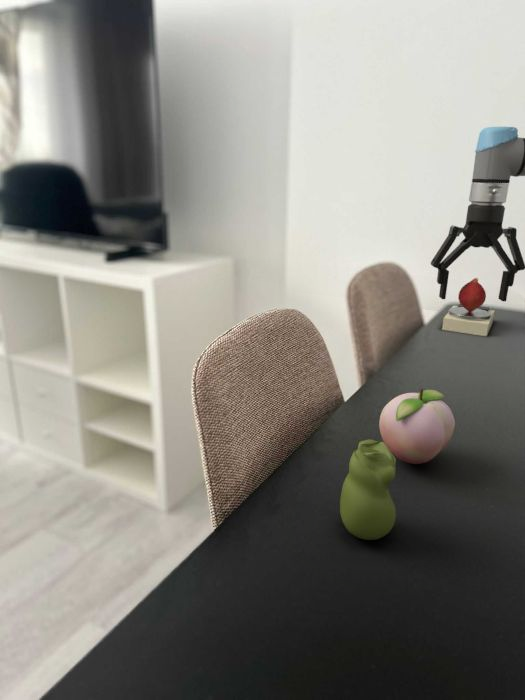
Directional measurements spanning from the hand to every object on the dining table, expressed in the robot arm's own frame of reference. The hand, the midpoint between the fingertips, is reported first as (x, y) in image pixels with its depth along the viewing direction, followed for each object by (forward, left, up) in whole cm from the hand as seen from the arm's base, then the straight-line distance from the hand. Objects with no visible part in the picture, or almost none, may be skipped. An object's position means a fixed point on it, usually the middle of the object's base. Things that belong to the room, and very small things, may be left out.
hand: (471, 299), depth 119 cm
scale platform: (0, 0, -4) cm, 4 cm away
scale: (0, -1, -7) cm, 7 cm away
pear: (+33, +77, -7) cm, 84 cm away
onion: (0, 0, -3) cm, 3 cm away
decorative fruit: (+26, +63, -7) cm, 68 cm away
